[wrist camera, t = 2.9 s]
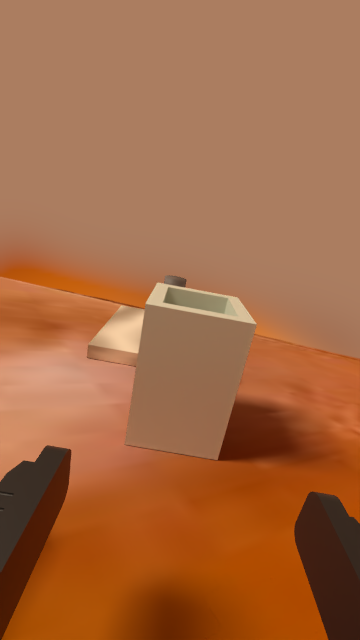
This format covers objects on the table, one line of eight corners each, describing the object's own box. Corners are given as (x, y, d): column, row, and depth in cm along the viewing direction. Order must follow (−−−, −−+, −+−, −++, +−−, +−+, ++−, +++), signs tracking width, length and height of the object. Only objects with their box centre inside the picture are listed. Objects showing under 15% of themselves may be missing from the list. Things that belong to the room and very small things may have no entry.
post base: (215, 332, 43) (228, 278, 41) (228, 382, 29) (249, 306, 26) (120, 314, 43) (127, 259, 40) (87, 357, 29) (93, 277, 26)
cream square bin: (210, 403, 25) (237, 297, 22) (217, 460, 19) (256, 324, 16) (140, 391, 25) (157, 282, 22) (124, 444, 19) (145, 303, 16)
